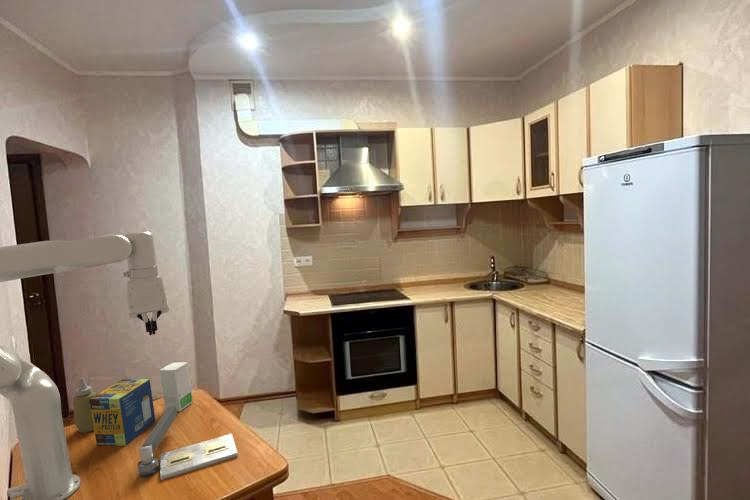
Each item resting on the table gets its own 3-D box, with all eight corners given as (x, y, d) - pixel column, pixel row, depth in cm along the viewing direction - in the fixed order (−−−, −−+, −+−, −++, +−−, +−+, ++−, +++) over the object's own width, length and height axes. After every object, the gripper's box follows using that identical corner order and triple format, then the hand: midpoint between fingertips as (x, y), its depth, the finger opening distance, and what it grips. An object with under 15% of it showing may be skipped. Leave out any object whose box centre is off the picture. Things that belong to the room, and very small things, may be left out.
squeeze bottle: (78, 427, 153) (69, 377, 151) (105, 420, 157) (97, 371, 154) (73, 437, 146) (64, 385, 144) (102, 430, 149) (93, 379, 147)
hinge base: (138, 479, 120) (137, 469, 120) (139, 470, 124) (137, 460, 124) (159, 473, 122) (157, 463, 122) (159, 464, 127) (157, 454, 126)
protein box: (95, 446, 140) (88, 399, 138) (129, 421, 155) (122, 378, 153) (126, 446, 138) (118, 398, 136) (156, 421, 153) (150, 378, 151)
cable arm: (151, 463, 122) (149, 448, 121) (139, 465, 121) (137, 450, 121) (178, 418, 147) (176, 406, 146) (169, 419, 146) (167, 407, 146)
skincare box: (180, 412, 158) (174, 370, 156) (163, 411, 160) (157, 370, 158) (194, 401, 166) (188, 361, 164) (178, 401, 168) (172, 361, 166)
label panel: (161, 480, 119) (160, 474, 119) (161, 457, 130) (160, 453, 130) (237, 456, 128) (237, 451, 127) (231, 437, 138) (231, 432, 138)
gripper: (113, 279, 125) (123, 342, 127) (171, 271, 131) (179, 331, 133) (116, 275, 132) (125, 335, 134) (171, 268, 138) (178, 325, 140)
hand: (152, 333), depth 134 cm, fingers closed
